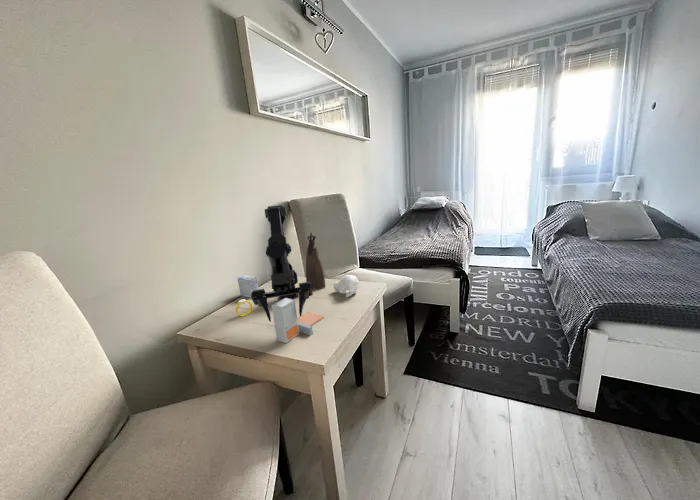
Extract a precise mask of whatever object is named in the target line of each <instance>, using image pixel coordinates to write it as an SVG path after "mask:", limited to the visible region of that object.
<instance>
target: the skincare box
mask: <svg viewBox="0 0 700 500" xmlns="http://www.w3.org/2000/svg"><path fill="white" fill-rule="evenodd" d="M271 310H272V317H273V318H272V319H273V323H274V330H275V337H276V341H279V342H281V343H283V344H284V343H285V344H288V343H289V342H290V341H291V340H293V339H294V338H296V337H297V336H299V335H300V332H299V329H298V321H297V318H298V315H297V308H296V301H295V299H288V298H284V299H282V300H280V299H279V300H278V301H277V302H275V303H272V304H271Z"/></svg>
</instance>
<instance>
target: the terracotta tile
mask: <svg viewBox="0 0 700 500" xmlns="http://www.w3.org/2000/svg"><path fill="white" fill-rule="evenodd" d="M324 319H325V316H323V315H320V314H316V313H312V312H310V311H307V312H305V313H304V314H302V315H301V316H300V315H299V316H297V321H298V322H299V323H302V324H305V325H308V326H311V327H313V326H314V325H316V324H317V323H319V322H320V321H322V320H324Z"/></svg>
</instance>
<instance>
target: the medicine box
mask: <svg viewBox="0 0 700 500" xmlns="http://www.w3.org/2000/svg"><path fill="white" fill-rule="evenodd" d="M257 278H258V277H257V276H253V275H244V274H243V275H242V276H239V277H238V278H237V283H238V288H239V293H240V297H244V298H250V299H251V293H252V291H253V290H259V289H260V288H259V283H258V279H257Z"/></svg>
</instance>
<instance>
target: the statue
mask: <svg viewBox="0 0 700 500" xmlns="http://www.w3.org/2000/svg"><path fill="white" fill-rule="evenodd" d="M316 238H317V237H316V235H313V233H312V232H310V235H308V236H307V237H306V239H307V240H308V247H307V248H306V257H305V277H306V282H310V283H311V284H312V290H313V289H314V290H319V289H320V290H321V289H323V288H326V279H325V273H324V267H323V263H322V261H321V256H320V254H319V251H318V248H317V247H316V242H315V240H316Z"/></svg>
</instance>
